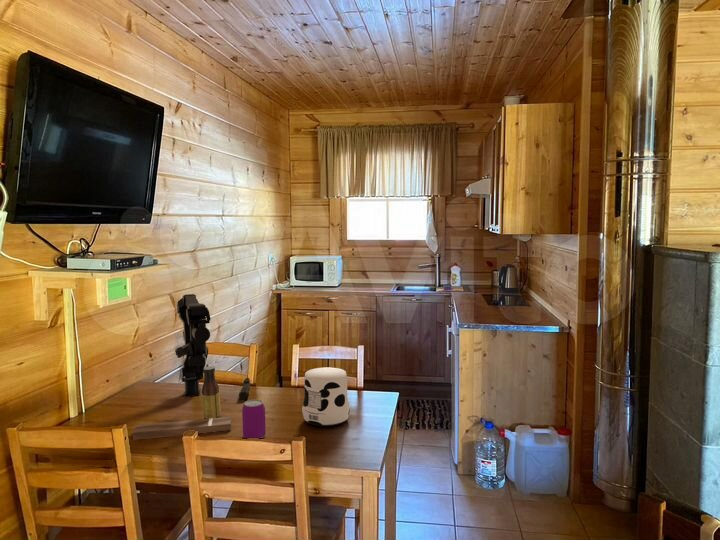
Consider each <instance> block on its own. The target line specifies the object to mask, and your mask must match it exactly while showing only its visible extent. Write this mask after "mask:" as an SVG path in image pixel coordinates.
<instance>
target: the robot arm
mask: <svg viewBox="0 0 720 540" xmlns="http://www.w3.org/2000/svg"><path fill="white" fill-rule="evenodd" d="M176 314H178V318H179V320H180V321H181V322H182V325H183V326H182V327H183V335H184V336H183V338H184V339H183V341H184V344H183V345H180V346H179V347H176V348H175V350H174V353H175V355H176V357H177V359H181V358H182V357H184V356H185V358H184V360H183V361H182V365H181V366H182V367H181V368H180V380H181V382H182V383H184V392H183V397H189V396H190V397H191V396H192V395H194V396H200V395H201V392H202V389H200V381H201V380H204V372H203V369H204V368H205V367H206V365H207V364H206V363H207V360H208V358H209V357H208V356H209V347H208V346H207V341H209V340H210V338H211V331H210V329H208V328H207V324H210V323H211V314H210V310H209V308H208V307H207V306H206V305H205V304H204V303H200V302H199V300H198V299H197V295H196V294H194V293H191V294H188V293H187V294H183V295H182V298H180V299H179V300H178V301H177V303H176ZM200 391H201V392H200ZM192 397H193V396H192Z"/></svg>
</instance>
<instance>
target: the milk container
mask: <svg viewBox="0 0 720 540" xmlns="http://www.w3.org/2000/svg"><path fill="white" fill-rule="evenodd" d="M303 387H304V399H303V404H302V409H301V410H302V417H303V419H304V421H306V422H307V424H310V425H312V426H315V427H316V426H317V427H334V426H337V425H341V424H343V423H344V422H346V421H347V420H348V419H349V416H350V412H351V411H350V410H351V407H350V401H349V397H348V374H347V371H346V370H344V369H343V368H339V367H325V366H324V367H316V368H311V369H309V370H307V371H306V372H305V373H304V385H303Z"/></svg>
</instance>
